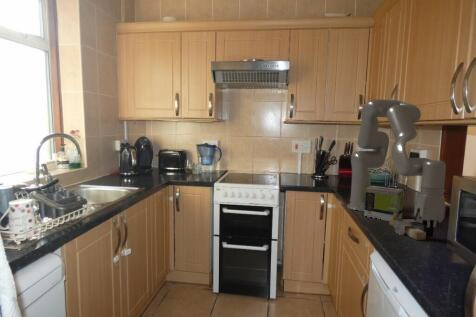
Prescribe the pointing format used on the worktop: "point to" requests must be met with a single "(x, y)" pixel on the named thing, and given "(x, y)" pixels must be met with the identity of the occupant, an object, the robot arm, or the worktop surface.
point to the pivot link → (409, 229)
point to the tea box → (383, 202)
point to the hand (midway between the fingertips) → (428, 236)
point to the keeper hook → (403, 225)
